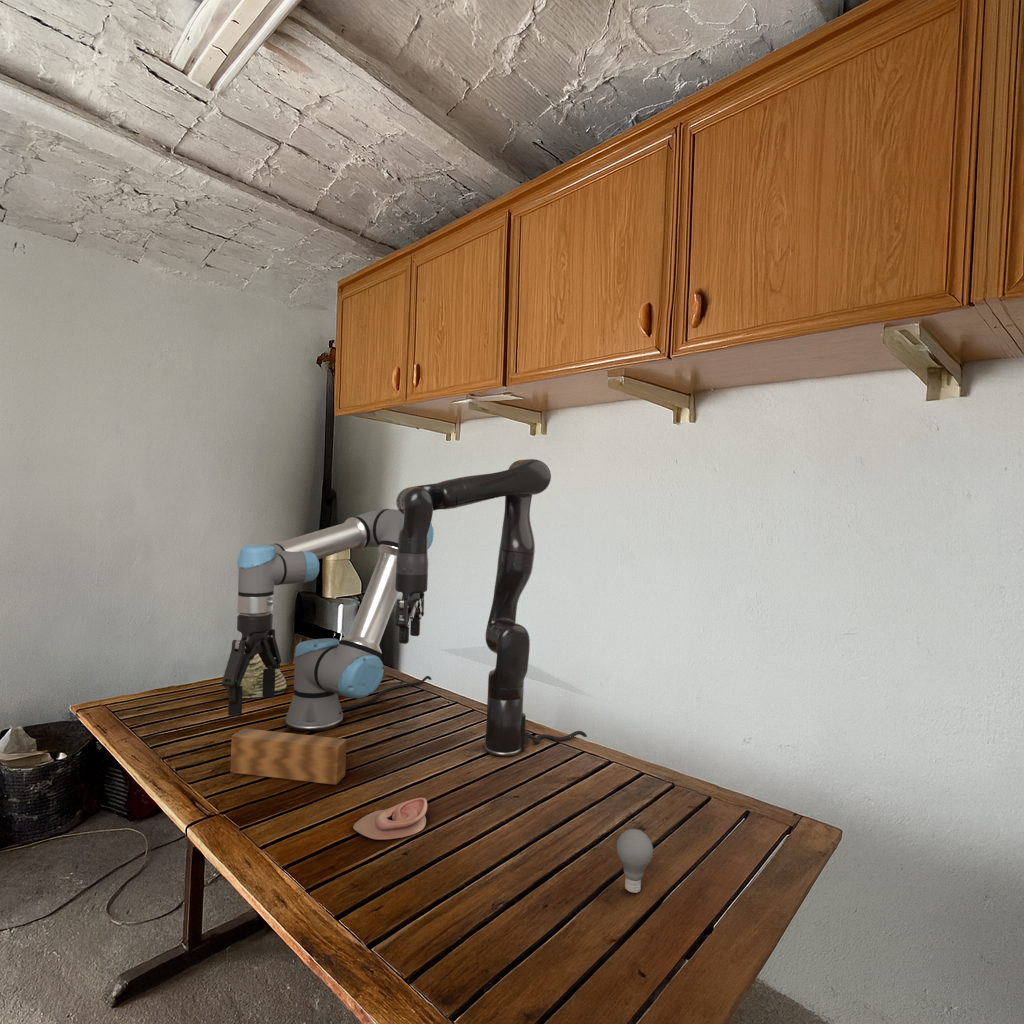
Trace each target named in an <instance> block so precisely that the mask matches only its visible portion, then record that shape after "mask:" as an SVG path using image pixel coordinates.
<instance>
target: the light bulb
mask: <svg viewBox="0 0 1024 1024" xmlns="http://www.w3.org/2000/svg"><path fill="white" fill-rule="evenodd" d="M615 849H616V854H617V857H618V859H619V861H620V863H621V865H622V867H623V873H624V874H623V875H624V876H625V878H624V888H625V890H627V891H628V892H630V893H634V894H635V893H639V892H640V891H641V889H642V887H641V886H642V879H643V877H644V875H645V871H646V868H647V867H648V866H649V864H650V863H651V861H652V859H653V855H654V847H653V843H652V841H651V838H649V836H648V835H647V834H646V833H645V832H643V831H642V830H641V829H636V828H629V829H627V830H625V831H623V832H622V833H621V834H620V835H619V837H618V839H617V841H616V847H615Z"/></svg>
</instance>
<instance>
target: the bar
mask: <svg viewBox="0 0 1024 1024" xmlns="http://www.w3.org/2000/svg"><path fill="white" fill-rule="evenodd" d="M347 741H348V739H347V738H339V737H329V736H322V735H321V736H320V735H311V734H302V733H291V732H284V731H274V730H273V731H272V730H265V729H263V730H262V729H256V728H255V729H254V728H246V727H245V728H241V729H240V730H239V731H237V732H235V733H234V734H232V735H231V743H230V770H229V771H230V773H232V774H240V775H241V774H242V775H250V776H258V777H267V778H275V779H282V780H292V781H299V782H300V781H301V782H309V783H317V784H325V785H335V786H336V785H338V784H339V783H340V782H341V781H342V780H343V778H344V777H346V769H347V768H346V766H347V743H348V742H347Z"/></svg>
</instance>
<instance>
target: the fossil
mask: <svg viewBox="0 0 1024 1024" xmlns="http://www.w3.org/2000/svg"><path fill="white" fill-rule="evenodd" d="M238 651H239V650H238ZM244 653H245V652H244ZM227 664H228V661H227V663H226V666H225V668H224V671H223V675H222V676H223V677H224V674H225V671H226V667H227ZM263 669H267V668H266V667H265V665H264V663H263V662H262V660H261V658H260V656H259V654H257V655H255V656H254V658H253V659H251V660H250V663H249V665H248V667H247V670H246V672H245V675H244V677H243V679H242V682H241V684H240V686H243V688H242V699H250V698H263V697H262V694H263ZM236 681H237V680H236ZM223 687H224V688H225V690H226V691H228V692H229V688H228V687H227V686H223ZM287 687H288V686H287V680H286V678H285V676H284V674H283V673H282V672H281V669H280V668H279V669H275V696H276V695H281V694H284V693H285V691H286V689H287Z"/></svg>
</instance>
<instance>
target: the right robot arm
mask: <svg viewBox="0 0 1024 1024" xmlns="http://www.w3.org/2000/svg"><path fill="white" fill-rule="evenodd" d="M551 481H552V473H551V470H550V468H549V466H548V465H547V464H546V463H545V462H543V461H542V460H539V459H536V458H526V459H518V460H515V461H513V462H512V463H511V464H510V465H509V467H508V468H507V469H505V470H501V471H497V472H490V473H482V474H475V475H467V476H461V477H456V478H452V479H446V480H442V481H439V482H435V483H428V484H421V485H415V486H408V487H406V488H404V489H402V490H401V491H400V492H399V493H398V494H397V496H396V500H395V504H396V509H397V510H399V511H400V512H401V513H402V514H404V523H403V528H402V529H401V530H400V531H399V536H398V555H397V561H396V584H395V589H396V591H398V592H399V593H401V594H402V596H401V599H398V598H396V605H395V606H396V607H395V622H394V624H395V627H398V644H401V645H402V644H403V645H406V644H408V643H409V642H410V636H411V637H419V636H420V635H421V632H420V631H421V621H422V618H423V617H424V615H425V593H426V592H427V591H428V584H429V583H428V582H429V580H428V579H429V556H428V555H429V554H428V552H429V551H428V550H429V549H428V532H429V529H430V525H431V523H432V519H433V515H434V511H438V510H453V509H458V508H461V507H465V506H466V507H467V506H469V505H473V504H477V503H481V502H485V501H488V500H493V499H497V498H502V497H504V512H503V513H504V514H503V521H502V528H501V537H500V543H499V550H498V556H497V568H496V575H495V582H494V590H493V598H492V602H491V607H490V611H489V616H488V620H487V624H486V629H485V644H486V646H487V648H488V649H489V651H491V652H492V653H494V654H496V661H495V668H493V669H492V670H490V671H489V672H488V677H487V679H488V680H487V699H486V700H487V702H486V703H487V704H486V722H485V723H486V724H485V725H486V726H485V734H484V736H483V737H484V739H483V740H485V743H484V750H485V752H486V753H488V754H489V755H491V756H495V757H505V758H506V757H514V756H516V755H519V754H520V753H523V752H525V745H529V743H530V740H529V739H531V740H532V742H533V743H534V744H535V745H538V744H540V742H541V739H548V740H552V741H557V742H564V741H567V740H568V741H569V740H570V739H573V738H574V737H576V736H579V735H580V736H582V737H583V738H587V737H588V735H587V734H586V733H585V732H584V731H582V730H576V731H573V732H571V733H569V734H567V735H565V736H555V735H552V734H546V733H542V734H539V735H537V737H536V736H535V735H533V734H530V732H529V731H528V730H526V719H527V718H526V717H527V715H526V714H525V713H524V712H523V711H524V693H525V692H524V690H525V678H526V676H527V674H528V670H529V659H530V651H531V649H530V647H531V642H530V641H531V639H530V634H529V632H528V631H529V630H527V628H526V627H525V626H524V625H522V624H519V623H517V612H518V606H519V605H518V604H519V600H520V598H521V595H522V593H523V592H524V590H525V588H526V586H527V584H528V582H529V580H530V579H531V576H532V573H533V568H534V560H535V554H536V553H535V552H536V541H535V536H534V531H533V528H532V524H531V523H532V522H531V505H532V499H533V496H536V495H539V494H541V493H543V492H544V491H545V490H547V489H548V487H549V485H550V483H551ZM570 736H571V737H570Z"/></svg>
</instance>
